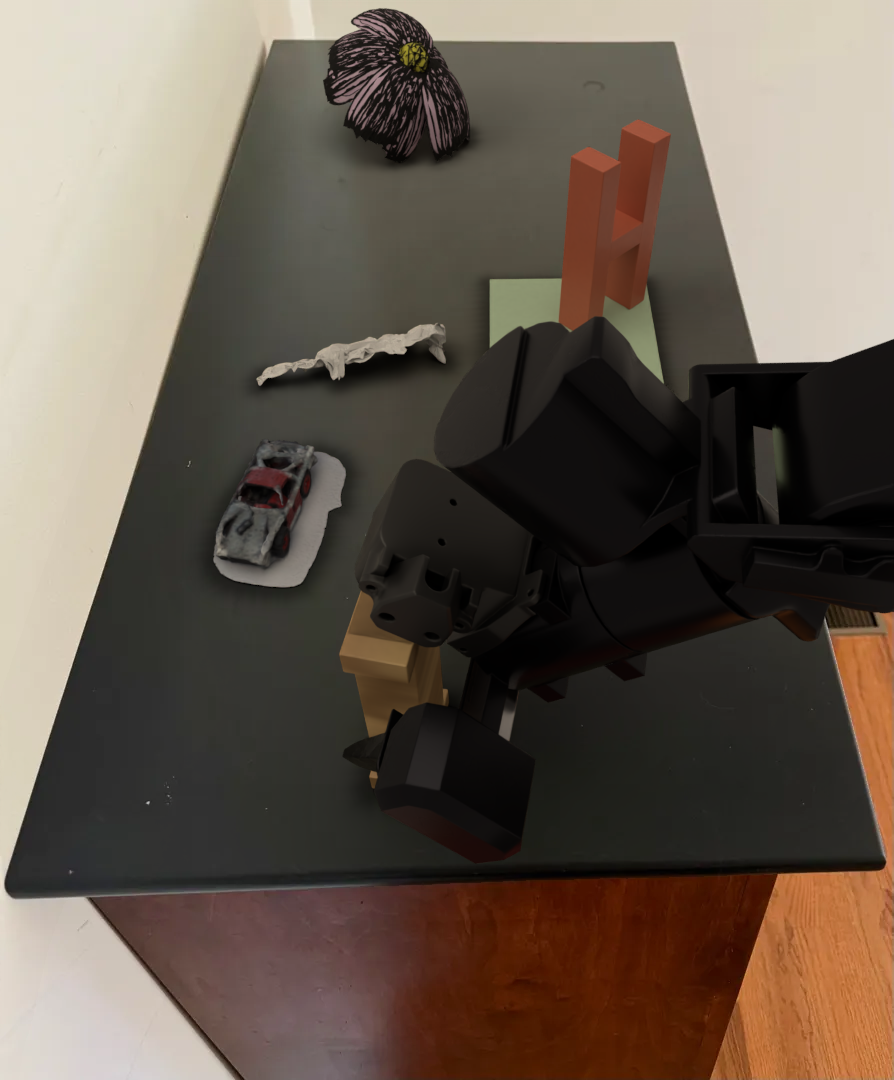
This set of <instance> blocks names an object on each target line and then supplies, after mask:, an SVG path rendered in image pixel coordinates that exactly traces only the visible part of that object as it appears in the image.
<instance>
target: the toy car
mask: <svg viewBox="0 0 894 1080" xmlns="http://www.w3.org/2000/svg"><path fill="white" fill-rule="evenodd" d="M346 471H347V470H346V467H344V464H342V462H341V461H340V460H339V458H336V457H334V456H332V455H329V454H328V453H326V452H322V451H316V447H315V446H313V445H309V444H307V445H303V444H301V443H299V442H298V441H295V440H294V441H291V440H284V439H282V440H281V439H277V440H270V439H269V438H262V439H261V440H260V442H259V444H258V445H257V447H256V448H255V450H254V452H253V455H252V457H251V459H250V461H249V462H248V464H247V468H246V469H245V470H244V473H243V474H242V478H241V480H240V481H239V483H238V484H237V486H236V489H235V492H234V493H233V494H232V497H231V499H230V502H229V503H228V506H227V507H226V509H225V511H224V512H223V516H222V517H221V518H220V519H219V521H218V522H217V524H216V528H215V533H214V537H215V545H214V548H213V549H214V551H213V554H212V556H214V557H213V563H214V564H215V566H216V568H217V570H218V571H219V573H220V574H221V575H223V576H224V577H226V578H228V579H230V580H232V581H235V582H240V583H245V584H251V585H254V586H255V585H257V586H258V585H259V586H263V587H271V588H273V587H276V588H290V587H293V588H294V587H296V586H298V585H301V584H302V583H303V582H304V580H305V579H306V578H307V574H308V573H309V569H311V567H312V565H313V563H314V562H315V560H316V558H317V554H318V551H319V550H320V546H321V545H322V542H323V537H324V536H325V532H326V529H325V528H327V523H328V514H329V512H330V511H333V510H335V509H337V508H340V507H342V505H343V504H342V501H341V500H342V498H341V496H342V495H341V494H342V490H343V488H344V486H345V480H346V478H347V477H346V476H347V473H346Z"/></svg>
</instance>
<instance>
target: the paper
mask: <svg viewBox="0 0 894 1080" xmlns="http://www.w3.org/2000/svg"><path fill="white" fill-rule="evenodd" d="M421 341H422V342H424V343H425V344H427V346H429V347H428V351H429V353H431V354H432V355H433V356H434V357H435V358H436V359H437V361H439V362H441V363H442V364H447V363H446V361H447V358H446V356H445V353H447V351H446V349H445V348H444V347H443V344H446V343H447V336H446V327H445V326H444V324H443V323H440V322H435V324H431V323H427V324H419V325H417V326H414V327H413V328H411V329H409V330H408V331H407V333H400V334H398V333H395V334H393V333H386V334H382V336H380V337H379V338H378V339H377V338H375V337H372V336H368V337H366V338H365V339H363V340H359V341H354V342H351V343H331V345H329V346H327V347H324V348H322V349H321V350H318V351H317V353H316V355H315V357H314V358H311V359H308V358H303V359H300V360H297V361H294V362H286V361H285V362H281V363H277V364H275V365H274V366H268V367H267V368H265V369H263V372H262V374H261V375H259V376H258V377H257V378H255V379H256V381H257V384H258V386H259V387H261V386H262V385H263V383H264V382H265V381H266V380H267V379H268V378H269V379H270V378H271V379H273V378H276V377H279V376H281V375H283V374H286V373H287V372H288V371H290V369H291V370H292V372H293V373H295V372H296V370H297V369H298V368H299V369H301V370H302V371H303V372H308V370H311V369H317V368H318V369H320V368H323V367H325V368H326V369H327V370H328V371H329V374H330V378H331V379H332V381H335V380H336V379H338V381H340V379H343V378H344V377H345V364H346V365H350V364H352V363H359V364H361V363H365V362H367V361H368V360H370V359H371V358H372V357H373V356H374V355H375V354H376V353H380V352H385V353H387V354H388V355H394V354H397V355H405V353H406V352H407V350H408V349H407V348H406V347H411V346H413V345H414V344H416V343H417V342H421Z"/></svg>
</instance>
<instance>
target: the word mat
mask: <svg viewBox="0 0 894 1080" xmlns="http://www.w3.org/2000/svg"><path fill="white" fill-rule="evenodd" d="M561 282H562V277H561V278H494V279H493V278H490V279H489V348H490V347H491V346H492V345H494V344H495V343H496V342H497V341H499V340H500V339H501V338H502V337H503V336H505V335H506V334H507V333H509V332H510V331H512V330H514V329H515V328H517V327H519V326H522V327H523V328H524V329H526V328H528V327H531V326H533V325H535V324H538V323H542V322H549V321H553V322H557V323H559V322H558V321H559V308H560V295H561ZM647 284H648V283H647ZM647 284H646V290H645V296H644V300H643V301H642V302H640V303H639V304H637V305H636V306H634V307H633V308H631V309H628V308H626V307H624V306H622V305H621V304H619V303H617V302H615V301H614V300H612V299H610V298H608V297H607V296H605V300H604V308H603V316H602V317H605V318H606V319H607V320H608V321H609V322H610V323H611V324H612V325H613V326H614V327H615V328H616V329H617V330H618V331H619V332H620V333H621V334H622V335H623V336H624V337H625V338H626V339H627V340H628V341H629V343H630V344H631V346H632V348H633V350H634V351H635V353H636V355H637V357H638V358H639V359H640V360H641V362H642V363H643V364H644V365H645V366H646V367H647V368H648V369H649V370H650V371H651V372H652V373H653V374H654V375H655V376H656V377H657V378H658V379H659V380H660V381H661V382H662V383H663V384H664V385H665V381H664V377H663V376H664V375H663V371H662V363H661V359H660V353H659V348H658V342H657V336H656V330H655V325H654V319H653V313H652V308H651V302H650V297H649V290H648V285H647ZM563 326H564V325H563ZM564 327H565V328H566V329H567V330H568V331H570V332H572V330H570V329H569V328H567V327H566V326H564Z"/></svg>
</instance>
